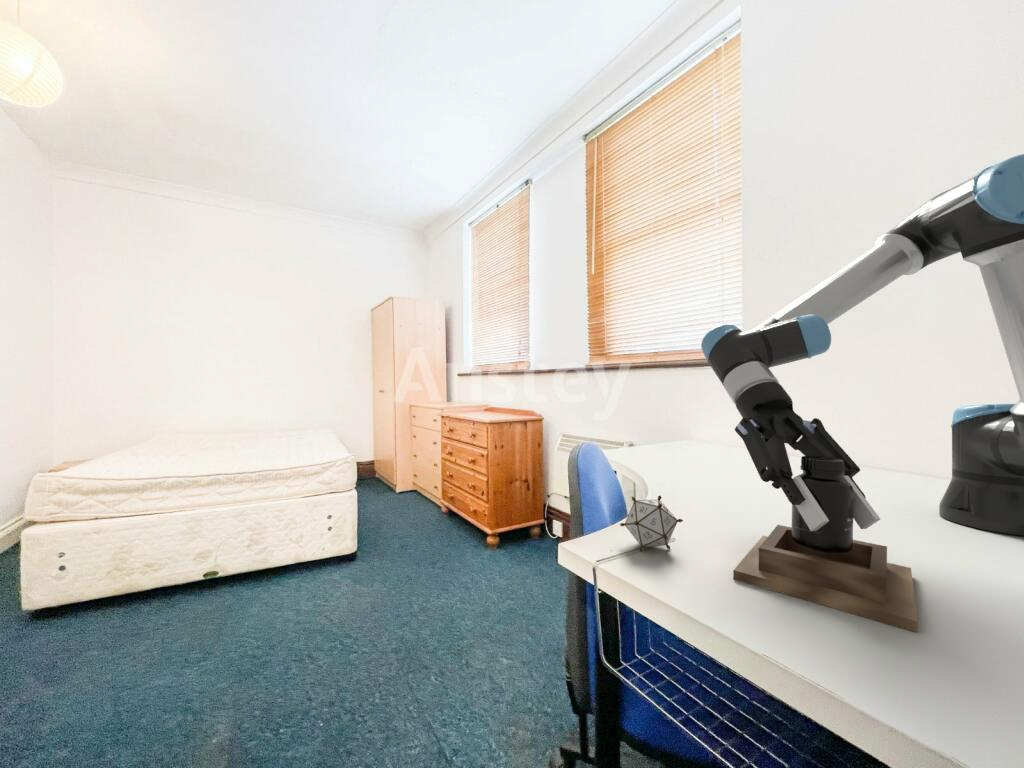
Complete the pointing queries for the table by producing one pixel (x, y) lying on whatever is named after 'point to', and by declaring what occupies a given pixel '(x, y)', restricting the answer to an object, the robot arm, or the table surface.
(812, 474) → the supplement bottle
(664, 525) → the game die
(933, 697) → the table surface
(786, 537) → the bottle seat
